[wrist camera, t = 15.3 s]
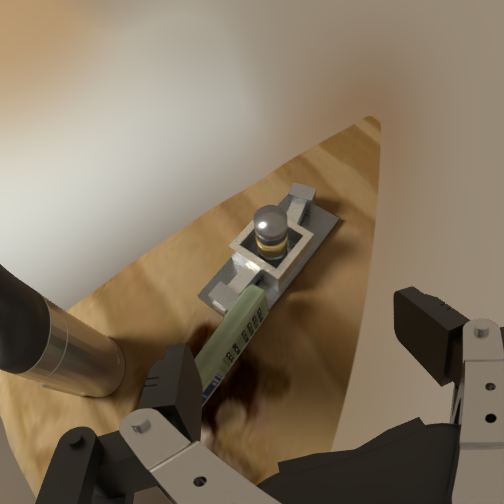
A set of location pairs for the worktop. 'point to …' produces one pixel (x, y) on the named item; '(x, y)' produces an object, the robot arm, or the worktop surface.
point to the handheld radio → (231, 338)
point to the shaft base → (261, 273)
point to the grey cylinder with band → (271, 234)
